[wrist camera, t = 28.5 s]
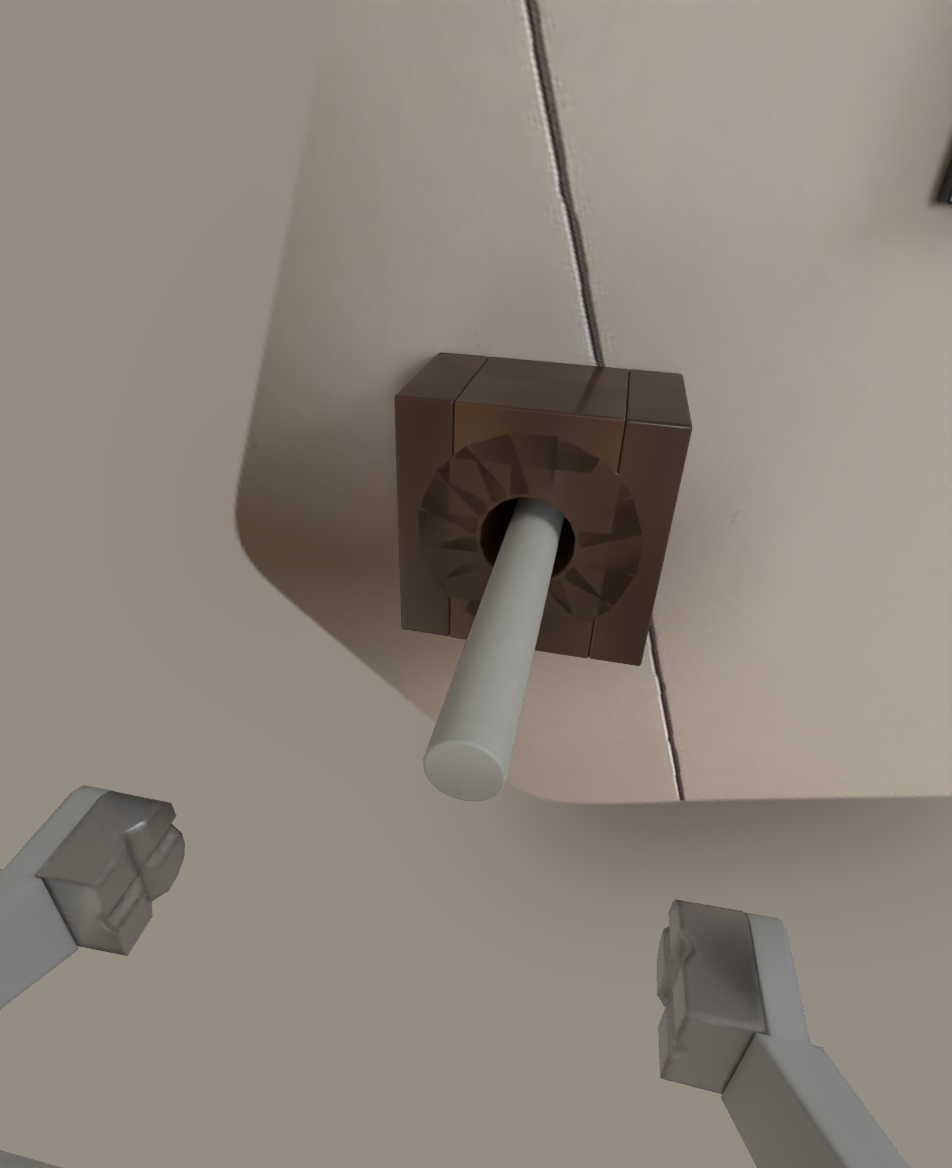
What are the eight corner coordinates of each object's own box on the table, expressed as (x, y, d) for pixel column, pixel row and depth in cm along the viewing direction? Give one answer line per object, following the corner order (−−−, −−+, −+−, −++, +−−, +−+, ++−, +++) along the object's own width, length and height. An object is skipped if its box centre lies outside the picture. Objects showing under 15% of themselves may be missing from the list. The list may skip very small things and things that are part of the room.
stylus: (526, 496, 25) (422, 793, 13) (529, 454, 24) (421, 735, 12) (569, 501, 24) (503, 809, 13) (574, 459, 24) (508, 751, 12)
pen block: (438, 557, 27) (400, 629, 23) (439, 351, 23) (393, 395, 18) (641, 585, 26) (640, 667, 22) (683, 373, 21) (693, 425, 17)
